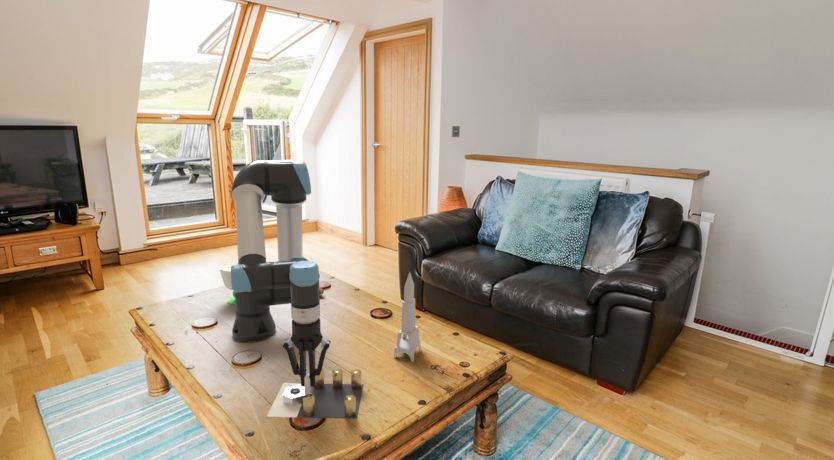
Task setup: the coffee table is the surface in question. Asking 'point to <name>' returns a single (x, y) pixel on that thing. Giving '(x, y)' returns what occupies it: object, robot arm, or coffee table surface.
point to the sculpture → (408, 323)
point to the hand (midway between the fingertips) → (308, 395)
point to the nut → (294, 395)
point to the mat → (318, 402)
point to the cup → (228, 278)
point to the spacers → (337, 384)
